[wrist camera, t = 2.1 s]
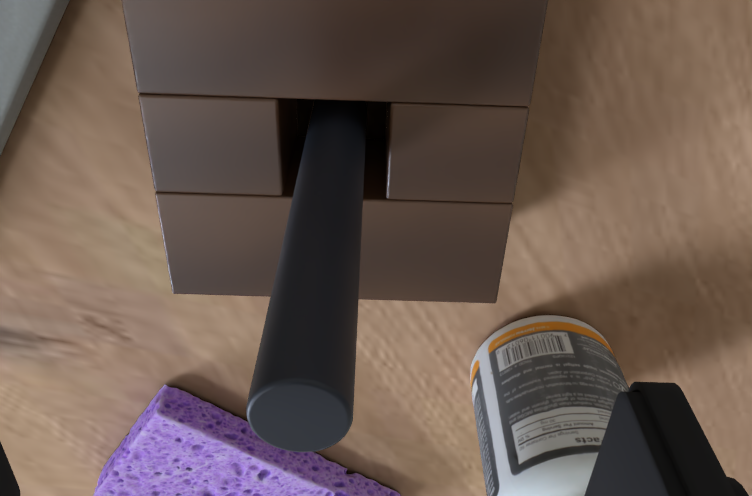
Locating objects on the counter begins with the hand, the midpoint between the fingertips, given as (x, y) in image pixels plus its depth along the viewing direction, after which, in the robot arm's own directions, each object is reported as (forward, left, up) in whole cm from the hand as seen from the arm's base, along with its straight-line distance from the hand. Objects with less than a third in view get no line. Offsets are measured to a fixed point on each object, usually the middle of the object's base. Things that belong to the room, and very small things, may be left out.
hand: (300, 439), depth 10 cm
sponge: (+19, -4, -13) cm, 23 cm away
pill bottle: (+11, +8, -13) cm, 19 cm away
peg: (0, 0, -13) cm, 13 cm away
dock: (0, 0, -13) cm, 13 cm away
